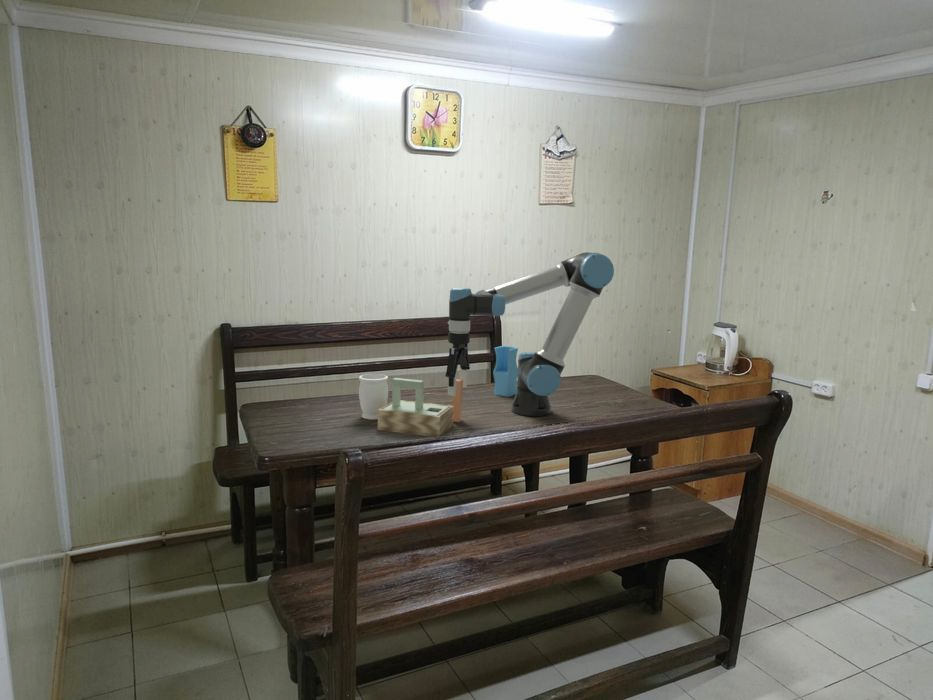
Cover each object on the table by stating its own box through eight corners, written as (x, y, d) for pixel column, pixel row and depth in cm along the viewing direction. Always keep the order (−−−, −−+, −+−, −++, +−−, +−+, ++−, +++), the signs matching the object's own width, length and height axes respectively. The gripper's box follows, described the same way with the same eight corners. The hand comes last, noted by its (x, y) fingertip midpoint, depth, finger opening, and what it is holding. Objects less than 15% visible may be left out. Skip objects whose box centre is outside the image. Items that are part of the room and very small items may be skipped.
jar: (374, 422, 222) (375, 381, 219) (352, 417, 227) (352, 377, 224) (393, 416, 231) (394, 376, 228) (372, 411, 236) (372, 372, 233)
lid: (448, 409, 220) (449, 379, 218) (436, 418, 208) (437, 387, 206) (397, 403, 225) (397, 374, 223) (382, 412, 214) (383, 381, 212)
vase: (492, 393, 268) (494, 347, 265) (501, 390, 275) (503, 345, 271) (508, 397, 264) (510, 350, 261) (517, 393, 270) (519, 347, 267)
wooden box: (453, 425, 222) (453, 405, 220) (438, 437, 208) (439, 417, 206) (395, 418, 228) (395, 399, 227) (377, 429, 214) (377, 409, 213)
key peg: (461, 420, 228) (463, 379, 226) (459, 422, 225) (460, 381, 223) (453, 419, 229) (455, 378, 227) (451, 421, 226) (452, 380, 224)
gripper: (459, 326, 234) (458, 382, 238) (437, 335, 211) (435, 397, 215) (479, 328, 232) (477, 384, 236) (458, 337, 209) (456, 400, 212)
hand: (457, 391), depth 225 cm, fingers open, 12 cm apart
